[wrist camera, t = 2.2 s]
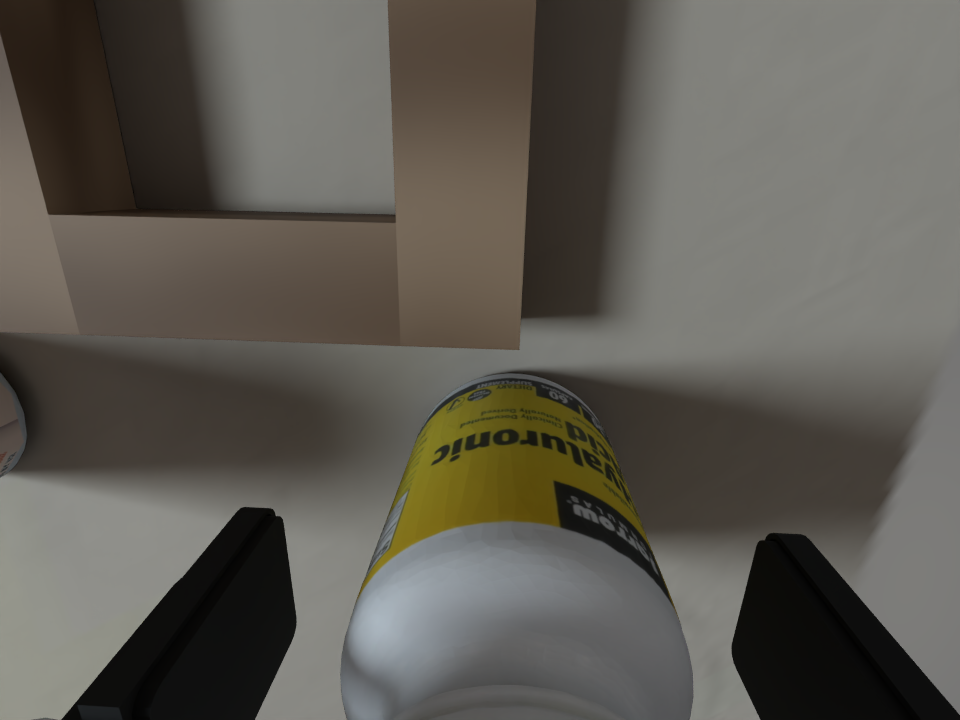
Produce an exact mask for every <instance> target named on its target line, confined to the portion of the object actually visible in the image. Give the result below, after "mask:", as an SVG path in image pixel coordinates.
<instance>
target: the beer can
mask: <svg viewBox="0 0 960 720" xmlns="http://www.w3.org/2000/svg"><path fill="white" fill-rule="evenodd" d="M26 439H27V432H26V425H25V417H24V412H23V409H22V407H21V405H20V402H19V400H18V397H17V395H16V393H15V391H14V390H13V388H12V387H11V386H10V384H9V383H8V382H7V380H6V379H5V378H4V377H3V375H2V374H1V373H0V477H2V476H3V475H5V474H6V473H8V472H9V471H10V470H11V469H12V468H13V467H14V466H15V465H16V464H17V462H18V461H19V459H20V457H21V455H22V453H23V452H24V450H25V444H26Z"/></svg>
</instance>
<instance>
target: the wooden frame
mask: <svg viewBox="0 0 960 720" xmlns="http://www.w3.org/2000/svg"><path fill="white" fill-rule="evenodd" d="M535 18H536V0H388V19H389V47H390V74H391V101H392V129H393V156H394V183H395V211H396V215H385V214H343V213H300V212H258V211H215V210H173V209H136V205H135V200H134V195H133V190H132V185H131V180H130V175H129V171H128V166H127V161H126V156H125V151H124V146H123V141H122V137H121V132H120V127H119V122H118V117H117V112H116V107H115V103H114V98H113V93H112V88H111V83H110V78H109V73H108V69H107V64H106V59H105V54H104V49H103V44H102V39H101V35H100V30H99V25H98V20H97V15H96V10H95V5H94V1H93V0H0V332H14V333H43V334H72V335H100V336H129V337H158V338H187V339H216V340H245V341H274V342H303V343H332V344H361V345H390V346H419V347H447V348H476V349H505V350H519V346H520V325H521V305H522V284H523V264H524V243H525V223H526V202H527V182H528V161H529V141H530V120H531V100H532V79H533V59H534V38H535Z"/></svg>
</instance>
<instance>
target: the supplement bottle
mask: <svg viewBox="0 0 960 720" xmlns="http://www.w3.org/2000/svg"><path fill="white" fill-rule="evenodd" d="M340 677H341V692H342V700H343V705H344V710H345V714H346V717H347V720H689V719H690V715H691V709H692V702H693V673H692V667H691V661H690V656H689V652H688V647H687V644H686V641H685V638H684V635H683V631H682V628H681V624H680V621H679V618H678V615H677V612H676V609H675V607H674V604H673V602H672V599H671V596H670V594H669V591H668V589H667V586H666V584H665V581H664V579H663V576H662V574H661V571H660V569H659V567H658V564H657V562H656V560H655V557H654V555H653V552H652V550H651V547H650V545H649V542H648V540H647V537H646V534H645V532H644V529H643V526H642V524H641V521H640V518H639V516H638V513H637V511H636V508H635V506H634V503H633V500H632V498H631V495H630V493H629V490H628V488H627V485H626V483H625V480H624V478H623V475H622V473H621V471H620V468H619V466H618V463H617V460H616V458H615V455H614V453H613V450H612V447H611V445H610V443H609V440H608V438H607V436H606V434H605V432H604V430H603V428H602V426H601V424H600V423H599V421H598V419H597V418H596V416H595V415H594V414H593V412H592V411H591V410H590V408H589V407H588V406H587V405H586V404H585V403H584V402H583V401H582V400H581V399H580V398H578V397H577V396H576V395H575V394H573V393H572V392H571V391H569V390H567V389H566V388H564V387H562V386H560V385H559V384H556V383H554V382H552V381H549V380H547V379H543V378H540V377H537V376H531V375H526V374H512V373H507V374H496V375H491V376H486V377H482V378H479V379H476V380H473V381H471V382H468V383H466V384H464V385H462V386H460V387H459V388H457V389H455V390H454V391H452V392H451V393H450V394H448V395H447V396H446V397H445V398H444V399H443V400H442V401H441V402H440V403H439V404H438V405H437V406H436V407H435V408H434V410H433V411H432V412H431V414H430V415H429V417H428V418H427V420H426V421H425V423H424V425H423V427H422V429H421V431H420V433H419V434H418V437H417V440H416V442H415V445H414V448H413V450H412V453H411V456H410V458H409V461H408V464H407V466H406V469H405V472H404V475H403V477H402V480H401V483H400V485H399V488H398V490H397V493H396V496H395V499H394V501H393V504H392V507H391V509H390V512H389V515H388V517H387V520H386V523H385V525H384V528H383V531H382V533H381V536H380V539H379V541H378V544H377V547H376V549H375V552H374V555H373V557H372V560H371V563H370V565H369V568H368V571H367V574H366V577H365V579H364V581H363V583H362V586H361V590H360V592H359V595H358V597H357V600H356V603H355V606H354V610H353V613H352V616H351V619H350V623H349V626H348V630H347V633H346V636H345V641H344V646H343V651H342V658H341V674H340Z"/></svg>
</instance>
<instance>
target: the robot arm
mask: <svg viewBox="0 0 960 720" xmlns="http://www.w3.org/2000/svg"><path fill="white" fill-rule="evenodd" d="M295 629H296V611H295V604H294V597H293V589H292V582H291V574H290V567H289V560H288V552H287V545H286V537H285V530H284V523H283V519H282V518H281V517H280V516H276V515H275V512H274V510H273V509H270V508H253V507H243V508H240V509H239V510H238V511H237V512H236V513H235V515H234V516H233V517H232V518H231V520H230V521H229V522H228V523H227V524H226V526H225V527H224V528H223V529H222V530H221V532H220V533H219V534H218V535H217V536H216V538H215V539H214V540H213V541H212V542H211V544H210V545H209V546H208V547H207V548H206V550H205V551H204V552H203V553H202V555H201V556H200V557H199V558H198V559H197V561H196V562H195V563H194V564H193V565H192V567H191V568H190V569H189V570H188V571H187V573H186V574H185V575H184V576H183V577H182V578H181V579H180V580H179V581H178V582H177V583H175V584H174V585H173V587H172V588H171V589H170V590H169V591H168V593H167V594H166V595H165V596H164V597H163V599H162V600H161V601H160V602H159V603H158V605H157V606H156V607H155V608H154V609H153V611H152V612H151V613H150V614H149V615H148V617H147V618H146V619H145V620H144V621H143V623H142V624H141V625H140V626H139V627H138V629H137V630H136V631H135V632H134V633H133V635H132V636H131V637H130V638H129V639H128V641H127V642H126V643H125V644H124V645H123V647H122V648H121V649H120V650H119V651H118V653H117V654H116V655H115V656H114V657H113V659H112V660H111V661H110V662H109V663H108V665H107V666H106V667H105V668H104V669H103V671H102V672H101V673H100V674H99V675H98V677H97V678H96V679H95V680H94V681H93V683H92V684H91V685H90V686H89V687H88V689H87V690H86V691H85V692H84V693H83V694H82V696H81V697H80V698H79V699H78V700H77V702H76V703H75V704H74V705H73V706H72V708H71V709H70V710H69V711H68V712H67V714H66V715H65V716H64V717H63V718H62V720H255V718H256V716H257V714H258V712H259V710H260V707H261V705H262V703H263V701H264V699H265V697H266V695H267V693H268V690H269V688H270V686H271V684H272V682H273V680H274V678H275V676H276V674H277V671H278V669H279V667H280V665H281V663H282V661H283V659H284V657H285V655H286V652H287V650H288V648H289V646H290V644H291V642H292V639H293V637H294V634H295ZM732 657H733V661H734V664H735V667H736V669H737V671H738V673H739V675H740V678H741V680H742V682H743V684H744V686H745V688H746V690H747V692H748V694H749V696H750V699H751V701H752V703H753V705H754V707H755V709H756V711H757V713H758V715H759V717H760V720H960V715H959V714H958V713H957V711H956V710H955V709H954V708H953V707H952V706H951V704H950V703H949V702H948V701H947V700H946V699H945V697H944V696H943V695H942V694H941V693H940V692H939V690H938V689H937V688H936V687H935V686H934V685H933V684H932V682H931V681H930V680H929V679H928V677H927V676H926V675H925V674H924V673H923V672H922V670H921V669H920V668H919V667H918V666H917V665H916V663H915V662H914V661H913V660H912V659H911V658H910V656H909V655H908V654H907V653H906V652H905V651H904V649H903V648H902V647H901V646H900V645H899V644H898V642H897V641H896V640H895V639H894V638H893V637H892V635H891V634H890V633H889V632H888V631H887V630H886V629H885V627H884V626H883V625H882V624H881V623H880V622H879V620H878V619H877V618H876V617H875V616H874V614H873V613H872V612H871V611H870V610H869V609H868V607H867V606H866V605H865V604H864V603H863V602H862V600H861V599H860V598H859V597H858V596H857V594H856V593H855V592H854V591H853V590H852V589H851V587H850V586H849V585H848V584H847V583H846V582H845V580H844V579H843V578H842V577H841V576H840V575H839V573H838V572H837V571H836V570H835V569H834V568H833V566H832V565H831V564H830V563H829V562H828V561H827V559H826V558H825V557H824V556H823V555H822V554H821V552H820V551H819V550H818V549H817V548H816V547H815V545H814V544H813V543H812V542H811V541H810V540H809V539H808V538H807V537H806V536H804V535H801V534H782V533H771V534H769V535H768V536H767V537H766V539H765V541H764V540H762V541H759V542H758V544H757V546H756V550H755V554H754V558H753V562H752V566H751V570H750V574H749V578H748V582H747V586H746V590H745V594H744V598H743V602H742V606H741V610H740V614H739V618H738V622H737V626H736V630H735V634H734V638H733V642H732ZM33 720H56V719H50V718H40V719H33Z"/></svg>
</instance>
